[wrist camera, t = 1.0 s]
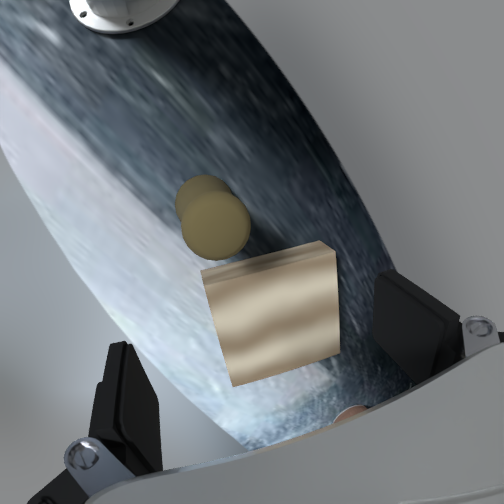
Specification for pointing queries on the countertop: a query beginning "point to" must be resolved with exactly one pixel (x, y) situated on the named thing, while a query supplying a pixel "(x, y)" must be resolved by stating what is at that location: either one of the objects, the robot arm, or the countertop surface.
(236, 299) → the birch plinth
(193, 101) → the countertop surface
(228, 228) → the olive tall waisted piece
